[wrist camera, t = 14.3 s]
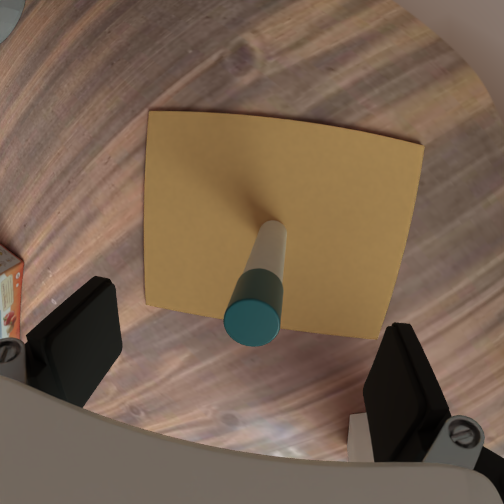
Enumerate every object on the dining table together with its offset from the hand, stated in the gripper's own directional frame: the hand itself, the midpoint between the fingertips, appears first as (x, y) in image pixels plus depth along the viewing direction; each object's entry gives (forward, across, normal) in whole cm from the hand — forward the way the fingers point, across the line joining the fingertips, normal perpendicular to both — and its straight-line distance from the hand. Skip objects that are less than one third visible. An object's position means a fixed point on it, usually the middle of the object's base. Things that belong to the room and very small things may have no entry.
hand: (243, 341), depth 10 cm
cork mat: (+14, 0, +1) cm, 14 cm away
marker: (+14, 0, +1) cm, 14 cm away
